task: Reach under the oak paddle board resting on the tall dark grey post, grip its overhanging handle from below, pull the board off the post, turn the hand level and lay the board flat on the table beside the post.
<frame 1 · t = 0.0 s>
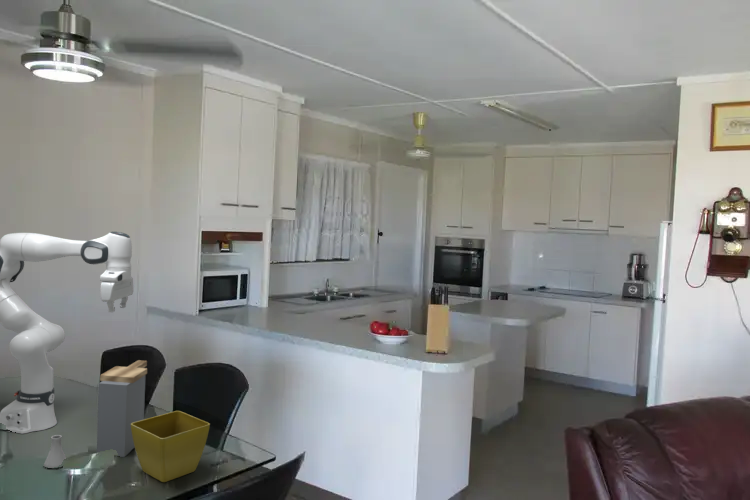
hand: (117, 309, 232), 48 cm above the table, tool pointing down, fingers open, 8 cm apart
flower pot: (168, 471, 205), on the table
oak paddle board: (124, 377, 220), point 26 cm above the table, touching grey post
flask: (55, 465, 204), on the table
grey post: (120, 446, 221), on the table
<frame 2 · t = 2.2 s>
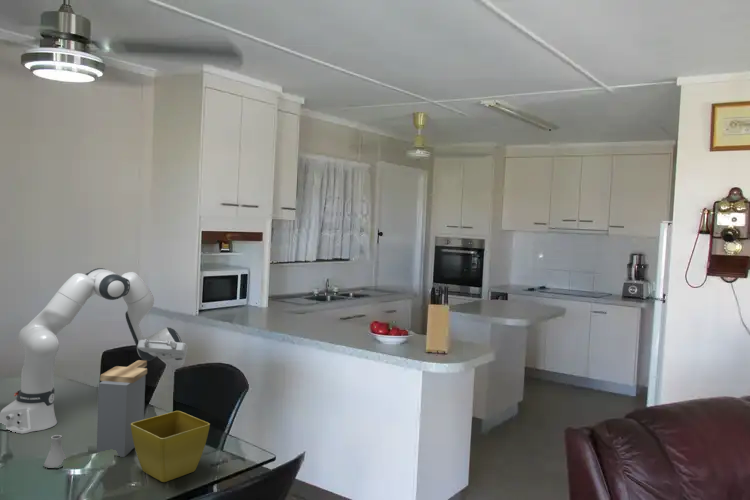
hand: (157, 341, 250), 32 cm above the table, tool pointing upward, fingers open, 8 cm apart
nothing on the table moved.
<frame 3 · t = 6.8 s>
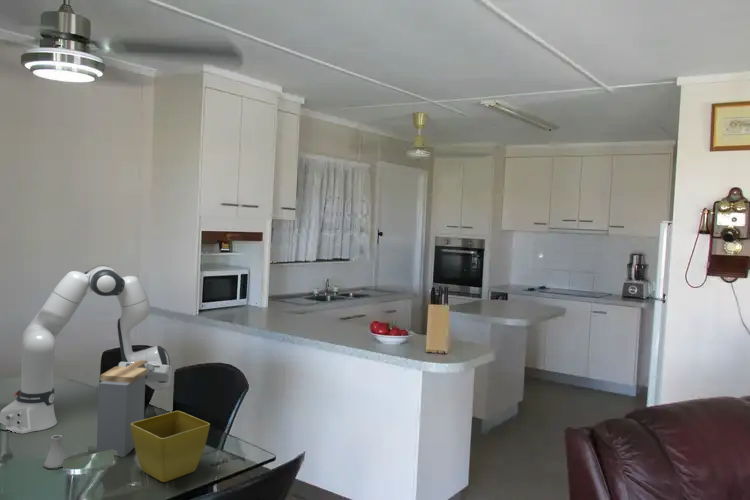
hand: (138, 364, 232), 27 cm above the table, tool pointing upward, fingers closed on oak paddle board, 3 cm apart
oak paddle board: (124, 377, 220), point 26 cm above the table, touching grey post, gripper
everything else where it was.
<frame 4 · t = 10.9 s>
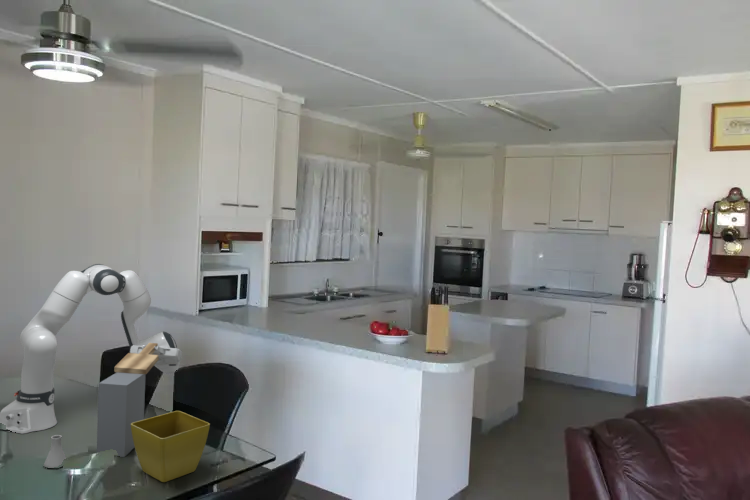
hand: (149, 347, 242), 32 cm above the table, tool pointing upward, fingers closed on oak paddle board, 3 cm apart
oak paddle board: (137, 365, 231), point 27 cm above the table, tilted 12°, touching gripper
everything else where it was.
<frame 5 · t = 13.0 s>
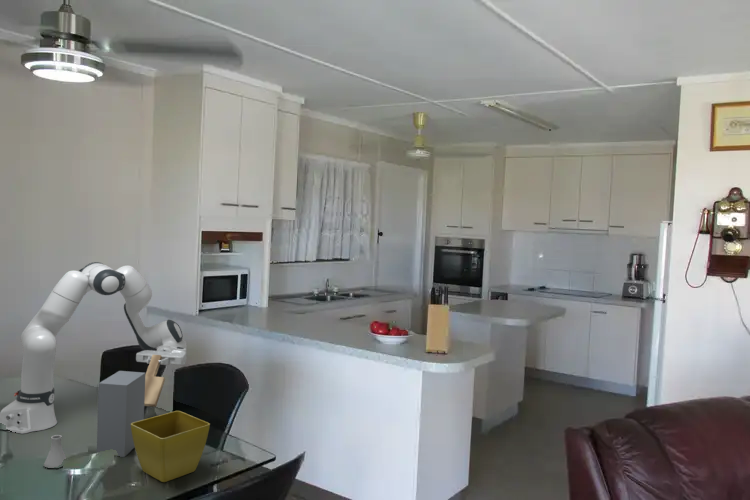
hand: (154, 362, 248), 24 cm above the table, tool horizontal, fingers closed on oak paddle board, 3 cm apart
oak paddle board: (145, 391, 241), point 14 cm above the table, tilted 45°, touching gripper
everything else where it was.
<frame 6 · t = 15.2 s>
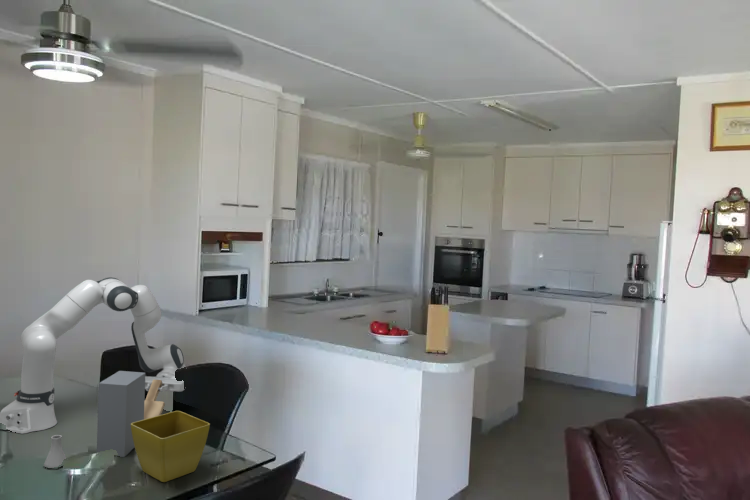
hand: (153, 389, 249), 12 cm above the table, tool horizontal, fingers closed on oak paddle board, 3 cm apart
oak paddle board: (145, 416, 242), point 4 cm above the table, tilted 40°, touching gripper
everything else where it was.
when the fingers open (11 cm above the table, at t = 15.9 s): oak paddle board drops 4 cm, on the table.
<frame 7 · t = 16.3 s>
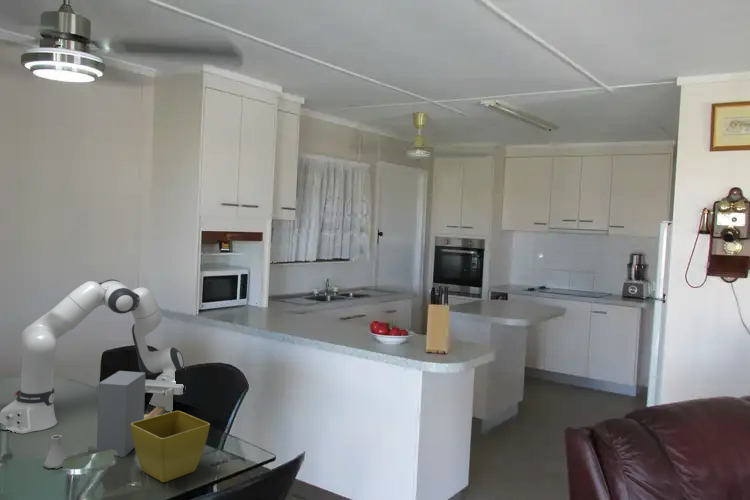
hand: (153, 393, 249), 11 cm above the table, tool horizontal, fingers open, 8 cm apart
oak paddle board: (145, 424, 244), on the table
everything else where it was.
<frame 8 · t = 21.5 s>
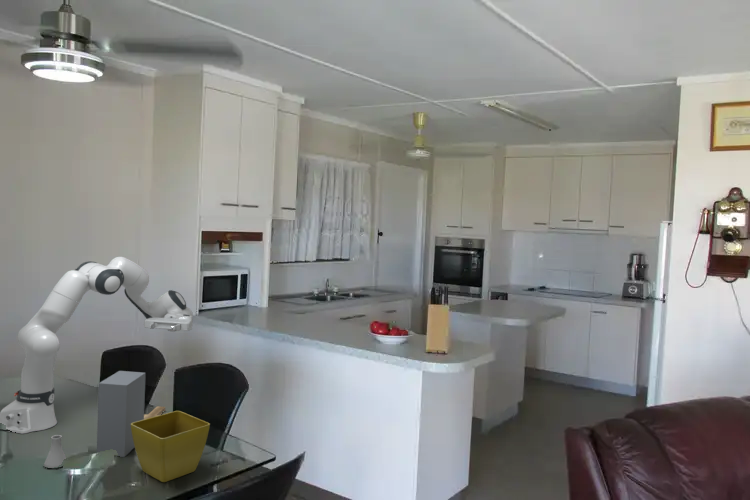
hand: (162, 327, 259), 36 cm above the table, tool horizontal, fingers open, 8 cm apart
nothing on the table moved.
at the end: oak paddle board inside the target area (1.0 cm from its centre), on the table; oak paddle board tilted 1°; the gripper is holding nothing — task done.
